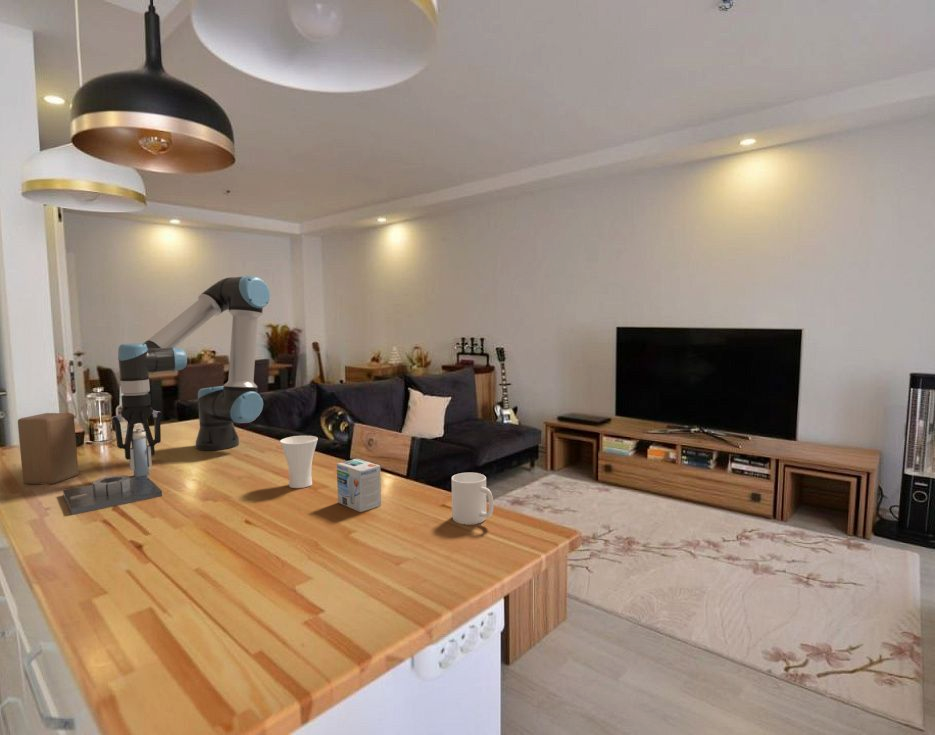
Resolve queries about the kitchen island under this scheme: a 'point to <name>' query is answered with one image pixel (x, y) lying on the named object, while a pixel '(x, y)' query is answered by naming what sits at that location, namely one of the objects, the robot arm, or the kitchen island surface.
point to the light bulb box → (359, 484)
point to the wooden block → (48, 448)
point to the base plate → (110, 493)
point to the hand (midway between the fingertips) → (141, 467)
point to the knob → (140, 453)
